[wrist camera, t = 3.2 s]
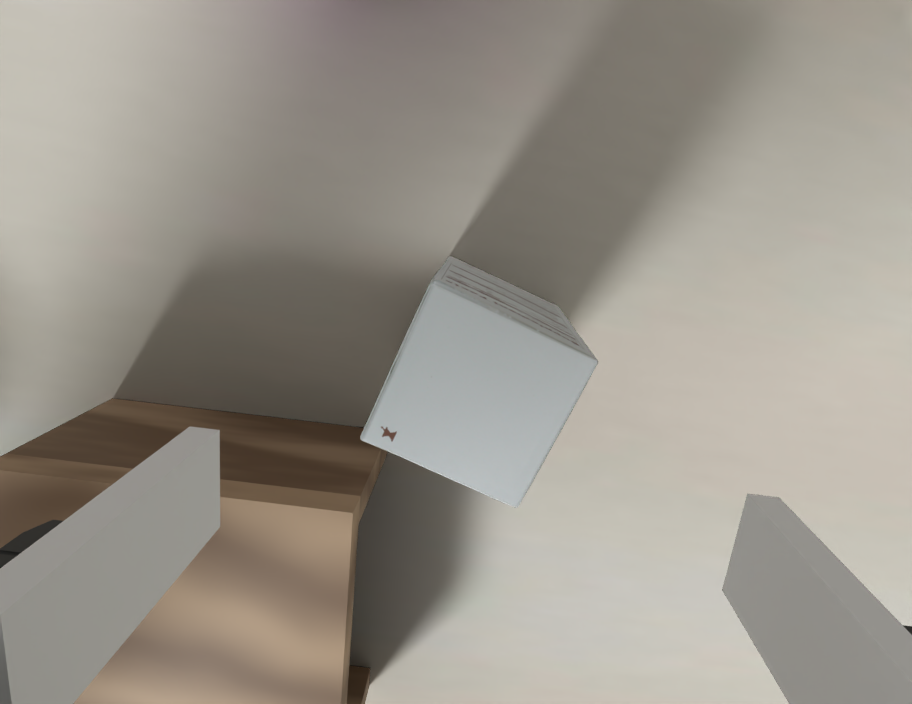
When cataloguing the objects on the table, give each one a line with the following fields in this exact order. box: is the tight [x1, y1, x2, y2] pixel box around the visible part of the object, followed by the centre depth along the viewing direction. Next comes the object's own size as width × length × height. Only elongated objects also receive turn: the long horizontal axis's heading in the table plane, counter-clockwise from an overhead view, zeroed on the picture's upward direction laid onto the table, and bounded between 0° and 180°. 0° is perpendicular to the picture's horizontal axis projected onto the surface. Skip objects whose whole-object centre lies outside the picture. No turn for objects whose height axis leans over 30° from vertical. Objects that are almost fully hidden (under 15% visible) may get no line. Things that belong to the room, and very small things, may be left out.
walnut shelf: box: [0, 398, 387, 704], centre depth 34 cm, size 20×18×10 cm
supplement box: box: [360, 256, 598, 508], centre depth 28 cm, size 7×7×13 cm
